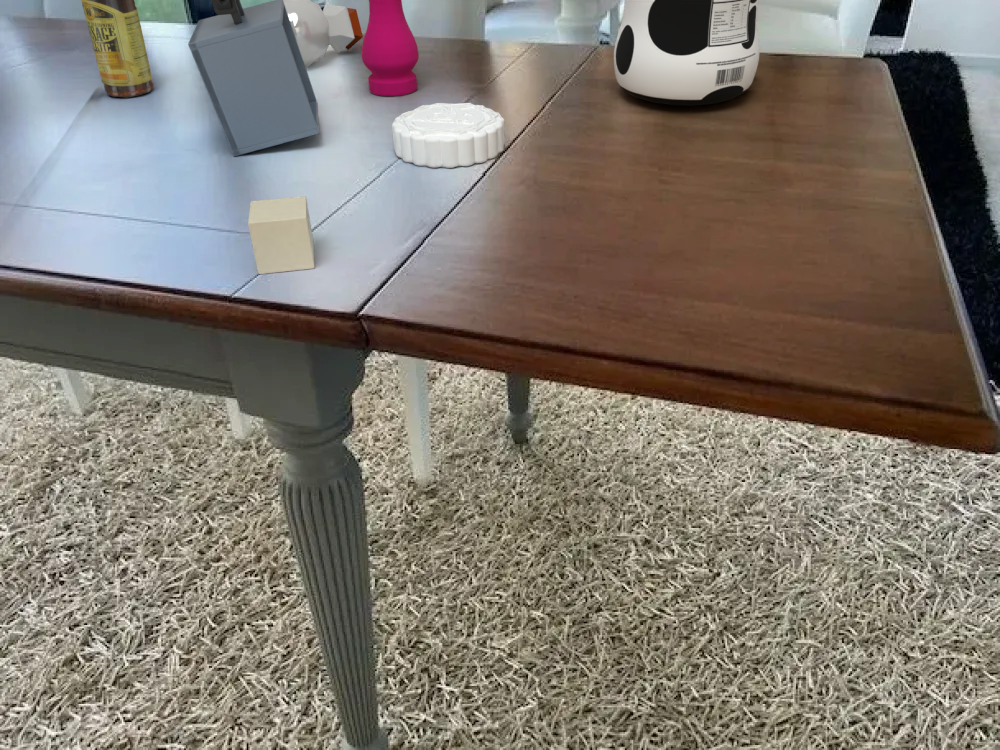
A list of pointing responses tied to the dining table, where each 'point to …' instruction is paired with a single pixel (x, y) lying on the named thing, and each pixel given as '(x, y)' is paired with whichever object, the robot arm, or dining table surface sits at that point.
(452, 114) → the mooncake
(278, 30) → the grey drawer with handle
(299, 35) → the potion bottle
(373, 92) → the pepper mill
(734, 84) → the milk container
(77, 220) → the dining table surface
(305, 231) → the block
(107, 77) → the sauce bottle
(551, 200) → the dining table surface
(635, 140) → the dining table surface
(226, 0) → the robot arm
